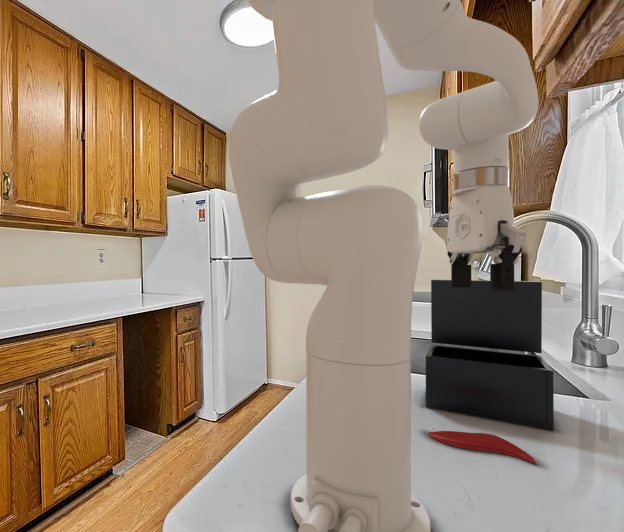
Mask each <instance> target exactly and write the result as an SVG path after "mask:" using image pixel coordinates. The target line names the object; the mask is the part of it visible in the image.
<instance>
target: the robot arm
mask: <svg viewBox="0 0 624 532" xmlns="http://www.w3.org/2000/svg"><path fill="white" fill-rule="evenodd" d="M245 1H246V3H247V4H248V5H249V7H250V8H251V9H252V10H253V11H255V12H256V14H257V15H259V16H260V17H262V18H264V19H265V20H268V21H270V22H271V26H272V35H273V36H272V37H273V43H274V49H275V56H276V63H277V70H278V86H277V89H276V90H274V91H273V92H271V93H269V94H266V95H264V96H263V97H260V98H258V99H257V100H254V101H253V102H251V103H250V104H248V105H247V106H246V107H244V108H243V109H242V110H241V111H240V112H239V113H238V115H237V117H235V120H234V122H233V123H232V127H231V130H230V133H229V134H230V135H229V141H228V160H229V161H228V162H229V166H230V171H231V176H232V181H233V185H234V189H235V194H236V199H237V202H238V207H239V211H240V216H241V221H242V225H243V228H244V233H245V237H246V242H247V246H248V248H249V252H250V255H251V257H252V260H253V261H254V264H255V265H256V267H257V269H258V270H259V271H260V272H261V274H263V276H264V277H266V278H268V279H270V280H271V281H274V282H278V283H284V284H298V285H321V286H326V288H325V290H324V292H323V294H322V295H321V297H320V299H319V301H318V302H317V304H316V305H315V307H314V308H313V311H311V312H312V313H311V315H310V317H309V319H308V323H307V327H306V334H305V351H306V356H305V357H306V358H305V359H306V365H305V366H306V369H305V371H306V373H305V376H306V379H305V380H306V385H305V386H306V387H305V388H306V398H305V399H306V400H305V401H306V408H305V409H306V411H305V412H306V417H305V418H306V419H305V420H306V429H305V431H306V432H305V433H306V434H305V435H306V436H305V437H306V440H305V441H306V442H305V443H306V444H305V445H306V452H305V453H306V464H305V465H306V473H305V474H304V475H302V476H300V477H299V478H298V479H297V480H296V481H295V482H294V484H293V485H292V488H291V490H290V511H291V513H292V516H293V519H294V520H295V522H296V523H297V525H299V526H298V527H297V528H298V529H297V532H432V530H431V529H432V528H431V527H432V526H431V519H430V514H429V511H427V509H426V507H425V506H424V504H423V503H422V502H421V501H420V500H419V499H418V498H417V497H416V495H415V494H413V493H412V313H413V301H414V300H413V299H414V290H415V283H416V278H417V277H416V276H417V272H418V266H419V262H420V256H421V251H422V245H423V239H424V222H423V216H422V212H421V210H420V208H419V205H418V204H417V203H416V201H415V200H414V198H412V197H411V196H410V195H409V194H408V193H407V192H405V191H403V190H401V189H398V188H395V187H394V186H388V185H382V184H381V185H379V184H377V185H375V184H372V185H371V184H370V185H367V184H366V185H358V186H352V187H345V188H342V189H336V190H330V191H324V192H320V193H315V194H311V195H306V196H302V190H301V184H305V183H310V182H315V181H319V180H324V179H329V178H333V177H338V176H342V175H345V174H349V173H353V172H355V171H359V170H361V169H364V168H366V167H368V166H369V165H372V164H373V163H375V162H376V161H377V160H378V159H379V158H380V157H381V156H382V155H383V153H384V151H385V150H386V146H387V143H388V137H389V120H388V119H389V118H388V117H389V116H388V108H387V100H386V93H385V85H384V77H383V71H382V64H381V55H380V49H379V42H378V35H377V28H378V30H379V32H380V34H381V36H382V37H383V39H384V41H385V43H386V45H387V47H388V50H389V51H390V54H391V55H392V57H393V59H394V61H395V62H396V64H397V65H398V66H399V67H401V68H403V69H405V70H409V71H418V72H419V71H420V72H421V71H423V72H468V73H477V74H481V75H485V76H487V77H490V78H491V79H494V81H491V82H487V83H485V84H482V85H478V86H476V87H472V88H470V89H469V88H468V89H467V90H464V91H461V92H458V93H454V94H451V95H449V96H445V97H442V98H440V99H437V100H435V101H433V102H431V103H430V104H428V105H427V106H426V107H424V109H423V110H422V111H421V113H420V115H419V120H418V130H419V134H420V136H421V138H422V140H424V142H425V143H426V144H427V145H428V146H430V147H432V148H434V149H438V150H446V151H452V198H451V201H450V206H449V213H448V222H447V236H446V238H447V239H446V241H445V242H444V243H445V247H446V251H447V253H446V255H447V256H448V259H449V261H448V263H449V265H451V266H450V268H451V269H450V271H451V272H450V274H451V275H450V277H451V278H450V280H451V286H452V287H471V280H472V264H469V263H470V262H471V260H472V258H473V256H474V254H488V255H489V257H490V259H491V260H492V261H493V263H490V264H489V265H490V266H489V281H490V288H491V290H494V291H513V290H514V281H515V265H516V264H517V263H518V261H519V259H518V257H519V256H520V255H521V253H522V251H523V245H524V243H525V240H526V238H527V232H526V231H524V230H522V229H520V228H518V227H516V226H515V216H514V214H515V213H514V206H513V201H512V194H511V190H510V168H509V167H510V165H509V163H510V161H509V158H510V156H509V155H510V149H509V148H510V147H509V146H510V145H509V143H510V142H509V141H510V139H509V137H510V136H509V135H510V134H514V133H517V132H520V131H522V130H524V129H526V128H527V127H529V126H530V125H531V123H532V122H533V121H534V120H535V118H536V116H537V114H538V110H539V93H538V92H539V91H538V87H537V83H536V78H535V75H534V72H533V68H532V66H531V60H530V57H529V54H528V53H527V50H526V48H525V47H524V46H523V45H522V43H521V42H520V41H519V40H518V39H517V38H516V37H514V36H513V35H511V34H510V33H508V32H507V31H505V30H504V29H501V28H500V27H498V26H496V25H493V24H491V23H488V22H487V21H482V20H478V19H474V18H472V17H469V16H468V15H467V14H466V12H465V9H464V6H463V4H462V0H245ZM376 26H377V28H376Z"/></svg>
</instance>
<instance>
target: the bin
mask: <svg viewBox="0 0 624 532" xmlns="http://www.w3.org/2000/svg"><path fill="white" fill-rule="evenodd" d="M554 391H555V390H554V370H553V369H552V367H551V366H550V365H549V364H548V362H547V361H546V360H545V359H544V357H543V356H542V355H539V354H528V353H518V352H510V351H499V350H489V349H481V348H480V349H479V348H471V347H459V346H451V345H450V346H448V345H441V344H440V345H439V344H431V346H430V348H429V349H428V351H427V353H426V354H425V408H428V409H435V410H439V411H445V412H450V413H456V414H459V415H460V414H461V415H466V416H472V417H476V418H477V417H478V418H483V419H487V420H494V421H499V422H505V423H509V424H515V425H521V426H526V427H531V428H536V429H542V430H547V431H554V430H555V429H554V428H555V426H554V423H555V422H554V421H555V420H554V419H555V414H554V413H555V409H554V405H555V404H554V396H555V395H554V394H555V393H554Z"/></svg>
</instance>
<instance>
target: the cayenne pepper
mask: <svg viewBox="0 0 624 532" xmlns="http://www.w3.org/2000/svg"><path fill="white" fill-rule="evenodd" d="M427 435H428V436H429V437H430V438H432V439H433V440H435V441H437V442H439V443H443V444H445V445H449V446H451V447H452V446H453V447H456V448H461V449H468V450H475V451H482V452H491V453H499V454H504V455H507V456H508V455H509V456H512V457H515V458H519V459H521V460H524V461H526V462H529V463H532V464H534V465H537V462H536V460H535V459H534V457H533V456H532V455H531V454H529V453H527V451H525V450H524V449H522V448H520V447H519V446H517V445H516V444H514V443H512V442H510V441H508V440H506V439H504V438H502V437H500V436H498V435H495V434H492V433H486V432H468V431H467V432H466V431H455V430H436V431H428V432H427Z"/></svg>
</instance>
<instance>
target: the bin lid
mask: <svg viewBox="0 0 624 532" xmlns="http://www.w3.org/2000/svg"><path fill="white" fill-rule="evenodd" d="M430 302H431V303H430V304H431V305H430V310H431V311H430V312H431V313H430V314H431V315H430V316H431V318H430V319H431V320H430V321H431V322H430V324H431V331H430V332H431V343H432V344H440V345H441V344H442V345H450V346H462V347H470V348H471V347H473V348H480V349H481V348H483V349H492V350H502V351H511V352H521V353H522V352H524V353H533V354H542V352H543V351H542V346H543V345H542V343H543V341H542V340H543V339H542V338H543V333H542V332H543V281H540V280H539V281H537V280H535V281H534V280H514V290H513V291H494V290H491V288H490V280H478V279H477V280H473V279H471V287H452V286H451V279H431V280H430Z"/></svg>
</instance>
